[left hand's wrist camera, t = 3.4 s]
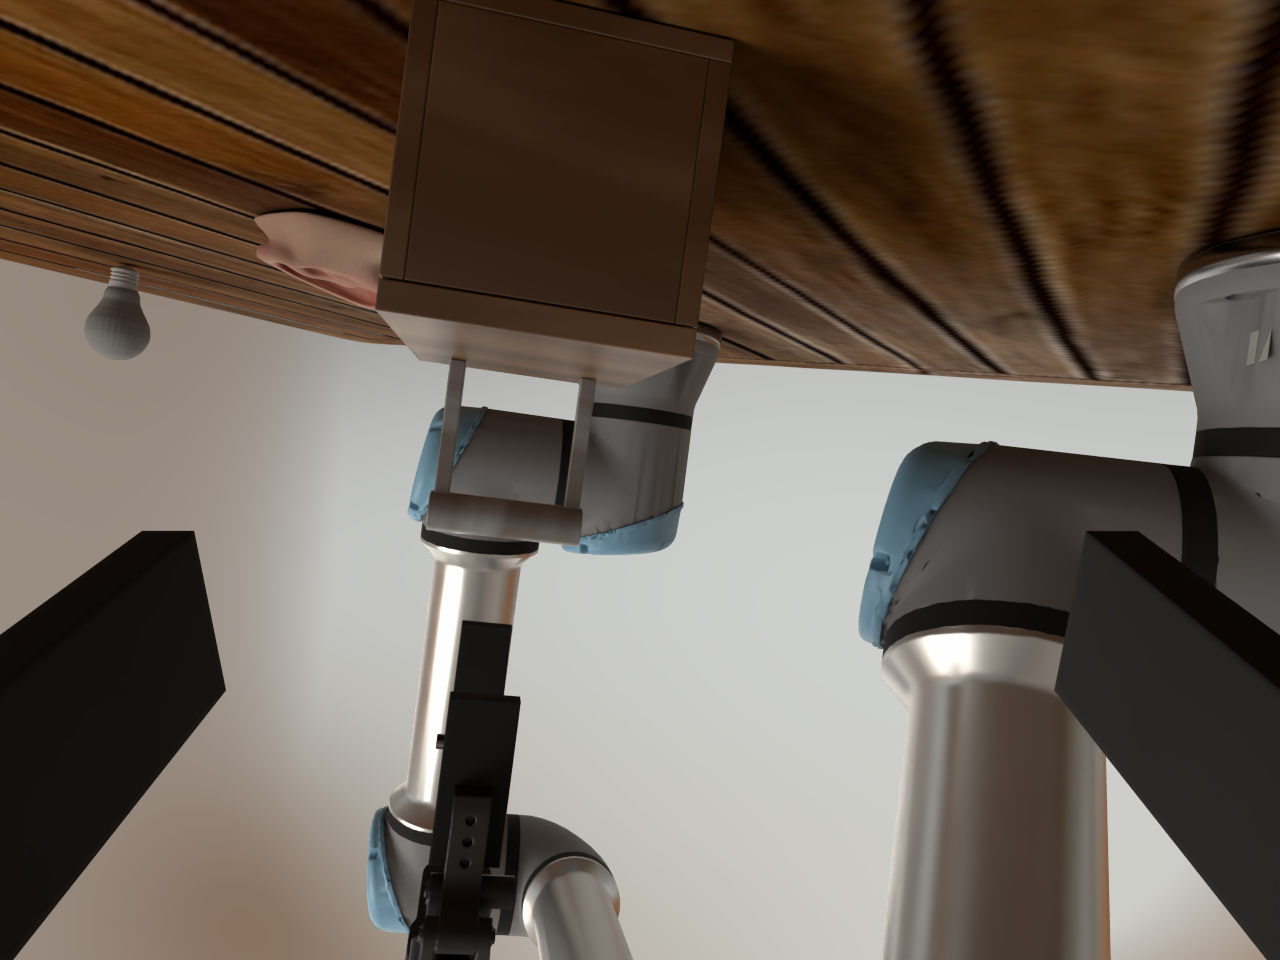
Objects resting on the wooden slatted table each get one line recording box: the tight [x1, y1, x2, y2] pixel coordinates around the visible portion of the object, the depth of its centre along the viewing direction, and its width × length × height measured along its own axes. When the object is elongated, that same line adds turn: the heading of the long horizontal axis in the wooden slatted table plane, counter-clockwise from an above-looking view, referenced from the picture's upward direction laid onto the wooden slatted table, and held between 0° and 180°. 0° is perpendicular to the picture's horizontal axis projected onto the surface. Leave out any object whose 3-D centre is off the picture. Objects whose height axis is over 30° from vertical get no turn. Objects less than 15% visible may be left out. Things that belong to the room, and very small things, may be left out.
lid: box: [375, 278, 697, 546], centre depth 35 cm, size 16×10×9 cm, turn 170°
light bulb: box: [84, 265, 150, 360], centre depth 91 cm, size 6×6×10 cm
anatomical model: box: [255, 212, 384, 309], centre depth 63 cm, size 13×4×12 cm
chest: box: [379, 0, 735, 328], centre depth 34 cm, size 15×10×9 cm
